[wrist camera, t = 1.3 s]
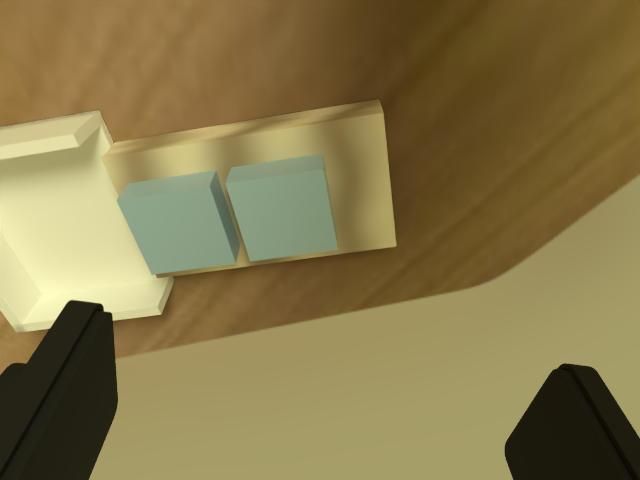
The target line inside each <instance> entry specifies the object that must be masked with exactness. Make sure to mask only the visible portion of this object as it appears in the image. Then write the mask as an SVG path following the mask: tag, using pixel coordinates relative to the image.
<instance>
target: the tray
mask: <svg viewBox="0 0 640 480" xmlns="http://www.w3.org/2000/svg"><path fill="white" fill-rule="evenodd" d="M113 144H114V143H113V140H112V138H111V136H110V134H109V131H108V129H107V127H106V125H105V122H104V120H103V118H102V116H101V113H100V111H99V110H97V111H91V112H85V113H79V114H74V115H68V116H62V117H56V118H51V119H45V120H39V121H33V122H27V123H22V124H16V125H10V126H4V127H0V311H1V312H2V313H3V315H4V316H5V317H6V319H7V320H8V321H9V323H10V324H11V325H12V327H13V328H14V329H15V331H16V332H17V333H19V332H27V331H35V330H43V329H50V328H51V326H52V325H53V323H54V322H55V320H56V318H57V317H58V315H59V314H60V312H61V311H62V309H63V308H64V306H65V305H66V304H67V303H68V301H70V300H78V301H85V302H93V303H100V304H102V305H103V308H104V311H105V312H111V313H112V317H113V321H114V320H122V319H130V318H138V317H146V316H154V315H161V314H162V312H163V309H164V306H165V304H166V301H167V299H168V296H169V294H170V291H171V289H172V286H173V284H174V281H175V280H174V278H173V276H172V277H165V278H157V277H156V275H155V274H154V275H152V274H151V272H150V270H149V268H148V266H147V264H146V262H145V260H144V258H143V255H142V253H141V251H140V249H139V247H138V245H137V243H136V241H135V239H134V237H133V234H132V232H131V230H130V228H129V226H128V224H127V222H126V220H125V218H124V215H123V213H122V211H121V209H120V207H119V205H118V203H117V201H116V200H117V199H118V197H119V196H118V194H117V192H116V189H115V187H114V185H113V183H112V181H111V179H110V177H109V174H108V172H107V170H106V168H105V166H104V164H103V162H102V160H101V158H102V157H103V155H104V154H105V153H106V152H107V151H108V150H109V149H110V147H111V146H112V145H113Z"/></svg>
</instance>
